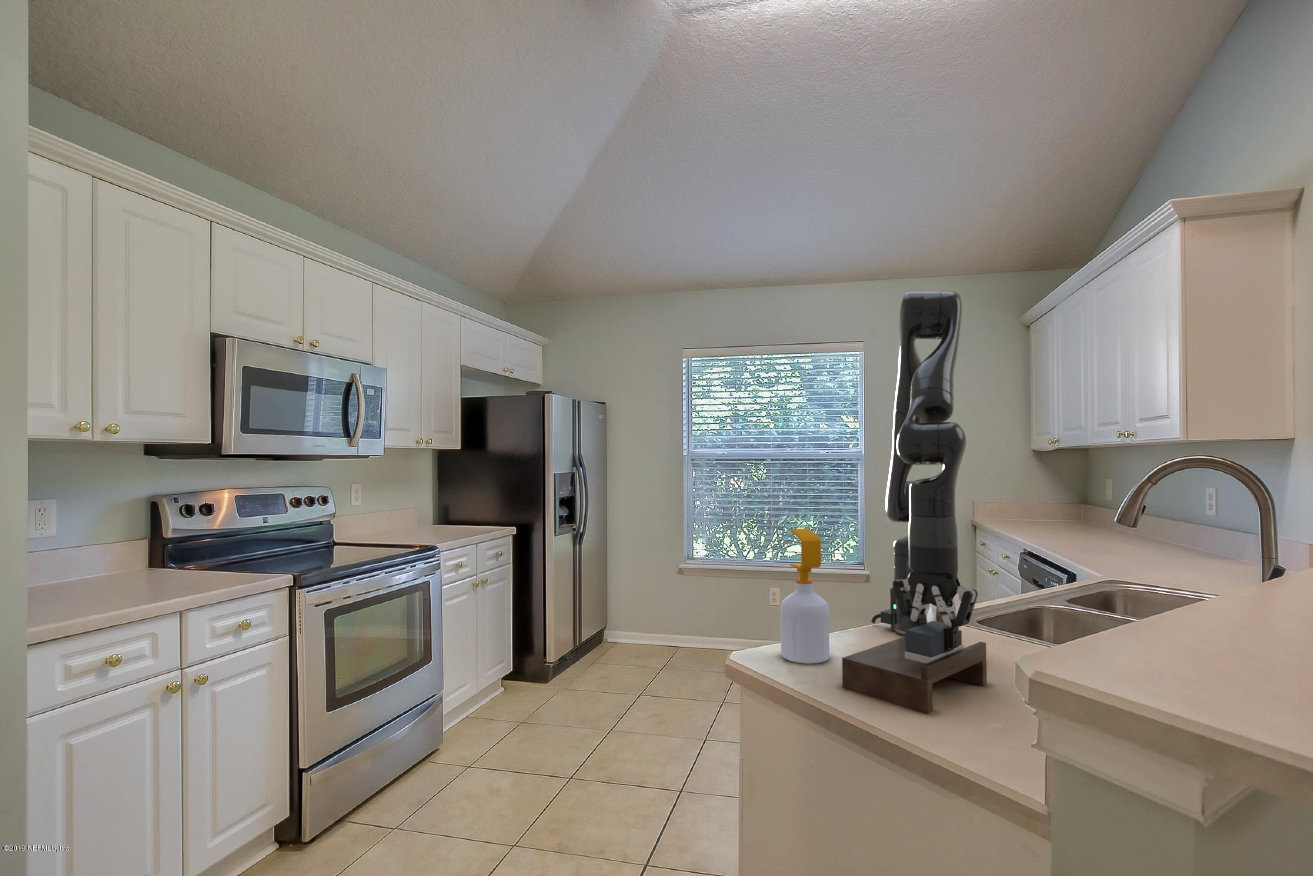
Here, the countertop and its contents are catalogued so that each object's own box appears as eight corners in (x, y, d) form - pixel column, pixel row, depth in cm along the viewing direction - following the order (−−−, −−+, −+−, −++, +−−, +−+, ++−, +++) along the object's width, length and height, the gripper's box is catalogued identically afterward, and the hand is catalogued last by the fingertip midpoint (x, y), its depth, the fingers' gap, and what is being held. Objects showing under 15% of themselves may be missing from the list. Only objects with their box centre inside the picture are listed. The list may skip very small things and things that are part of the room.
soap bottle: (812, 648, 133) (811, 526, 134) (838, 661, 125) (837, 531, 125) (772, 653, 130) (771, 528, 131) (796, 666, 122) (795, 533, 123)
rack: (842, 687, 111) (841, 645, 111) (904, 663, 124) (904, 625, 124) (927, 714, 99) (927, 667, 99) (986, 684, 112) (986, 642, 112)
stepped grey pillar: (931, 664, 104) (930, 635, 104) (904, 658, 107) (904, 630, 107) (963, 651, 111) (963, 624, 111) (937, 645, 114) (937, 619, 114)
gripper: (986, 545, 106) (989, 652, 106) (904, 537, 117) (906, 634, 117) (965, 549, 102) (967, 661, 101) (881, 540, 112) (882, 642, 112)
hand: (934, 646), depth 109 cm, fingers closed on stepped grey pillar, 4 cm apart
